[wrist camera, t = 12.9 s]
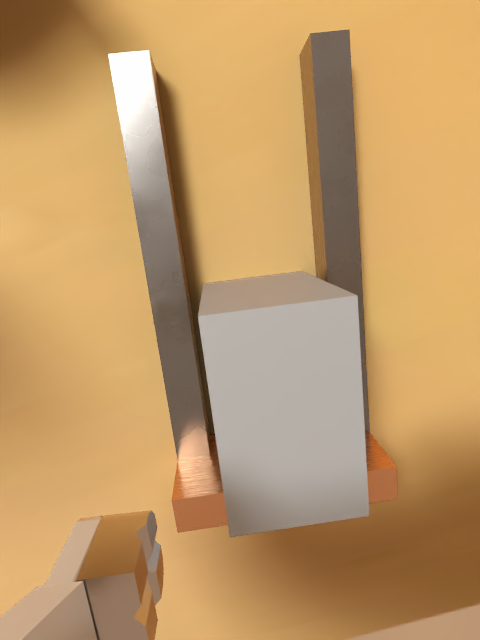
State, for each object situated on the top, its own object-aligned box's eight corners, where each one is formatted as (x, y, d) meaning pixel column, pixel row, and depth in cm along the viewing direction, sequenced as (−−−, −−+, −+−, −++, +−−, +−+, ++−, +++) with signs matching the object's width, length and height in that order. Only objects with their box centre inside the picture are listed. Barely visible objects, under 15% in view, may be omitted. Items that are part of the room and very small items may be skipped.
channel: (334, 51, 18) (379, -16, 13) (357, 441, 22) (397, 499, 18) (119, 73, 18) (84, 13, 13) (185, 466, 22) (177, 532, 17)
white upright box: (301, 271, 20) (357, 295, 12) (313, 415, 22) (369, 516, 14) (203, 283, 20) (197, 316, 12) (223, 428, 22) (230, 537, 14)
